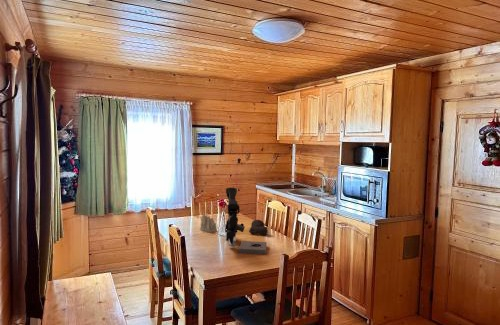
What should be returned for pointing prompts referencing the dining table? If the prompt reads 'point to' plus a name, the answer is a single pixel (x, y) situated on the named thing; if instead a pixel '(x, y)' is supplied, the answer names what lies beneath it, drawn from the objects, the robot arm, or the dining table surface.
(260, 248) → the duct plate
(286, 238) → the dining table surface
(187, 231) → the dining table surface
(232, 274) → the dining table surface
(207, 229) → the ceramic cottage
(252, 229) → the dark knit hat
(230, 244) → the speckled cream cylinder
